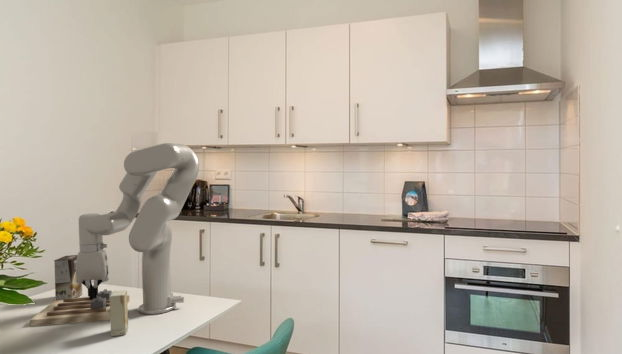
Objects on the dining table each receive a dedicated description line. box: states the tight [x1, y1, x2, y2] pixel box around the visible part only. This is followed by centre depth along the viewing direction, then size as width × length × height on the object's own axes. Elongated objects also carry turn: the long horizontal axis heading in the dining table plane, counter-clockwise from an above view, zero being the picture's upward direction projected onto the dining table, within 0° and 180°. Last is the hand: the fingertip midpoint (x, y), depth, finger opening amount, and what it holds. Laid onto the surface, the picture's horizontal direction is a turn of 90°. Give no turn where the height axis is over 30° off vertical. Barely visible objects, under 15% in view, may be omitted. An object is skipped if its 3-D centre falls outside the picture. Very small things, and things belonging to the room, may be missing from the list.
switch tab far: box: [97, 288, 113, 300], centre depth 157 cm, size 4×4×4 cm
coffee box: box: [54, 254, 83, 301], centre depth 167 cm, size 9×6×16 cm
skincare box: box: [109, 289, 129, 337], centre depth 132 cm, size 6×4×12 cm
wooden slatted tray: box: [29, 295, 130, 327], centre depth 151 cm, size 26×20×3 cm
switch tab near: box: [90, 297, 106, 309], centre depth 148 cm, size 4×4×4 cm
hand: (93, 298), depth 156 cm, fingers closed
